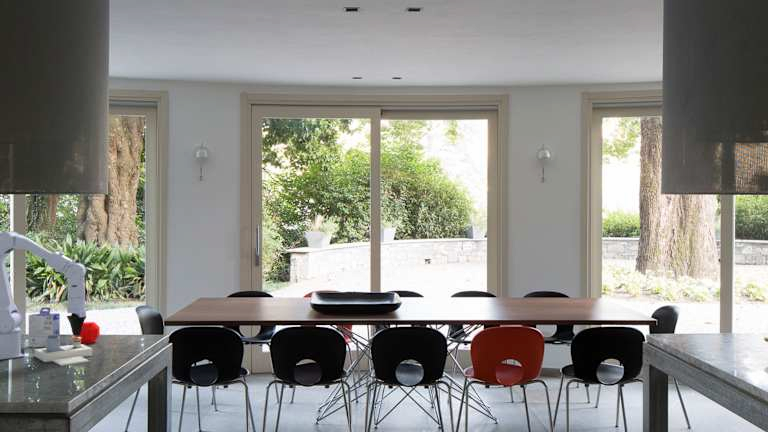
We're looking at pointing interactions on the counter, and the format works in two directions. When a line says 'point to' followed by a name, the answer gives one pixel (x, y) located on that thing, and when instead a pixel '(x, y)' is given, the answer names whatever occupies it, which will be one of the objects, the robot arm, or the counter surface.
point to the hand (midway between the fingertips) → (76, 335)
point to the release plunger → (76, 342)
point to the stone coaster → (70, 360)
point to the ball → (89, 332)
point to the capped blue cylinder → (52, 343)
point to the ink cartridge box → (43, 327)
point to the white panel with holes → (63, 353)
